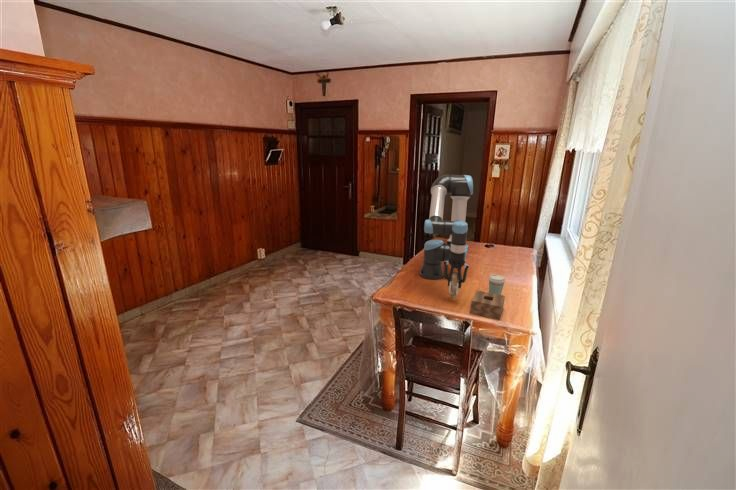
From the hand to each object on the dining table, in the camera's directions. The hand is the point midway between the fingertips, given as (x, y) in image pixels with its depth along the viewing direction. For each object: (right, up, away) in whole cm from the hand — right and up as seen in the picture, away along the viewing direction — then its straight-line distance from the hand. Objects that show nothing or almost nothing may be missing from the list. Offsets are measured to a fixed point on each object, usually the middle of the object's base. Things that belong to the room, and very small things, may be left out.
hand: (453, 292), depth 180 cm
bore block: (+15, -8, -9) cm, 19 cm away
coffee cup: (+25, -4, +7) cm, 26 cm away
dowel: (0, -3, +1) cm, 3 cm away
